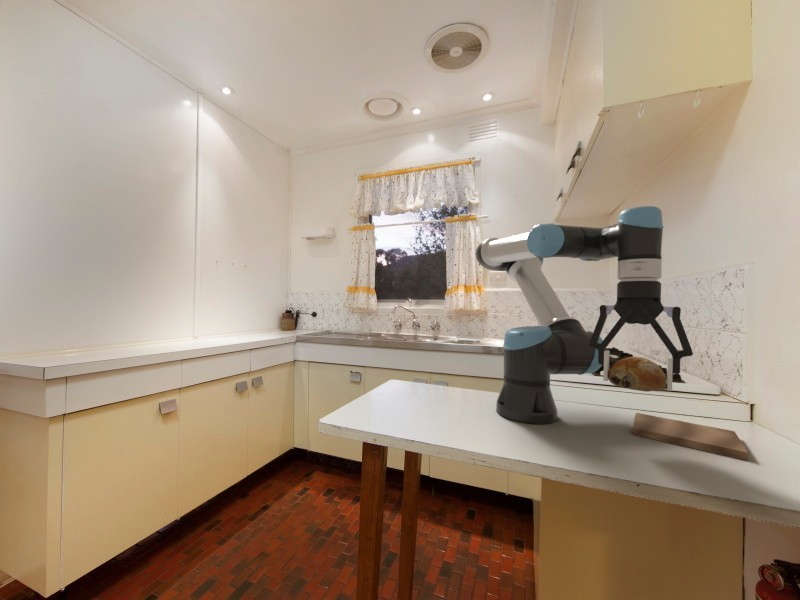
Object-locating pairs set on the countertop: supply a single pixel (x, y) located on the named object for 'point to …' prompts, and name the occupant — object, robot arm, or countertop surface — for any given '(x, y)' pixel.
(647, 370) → the bread roll
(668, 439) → the cutting board
